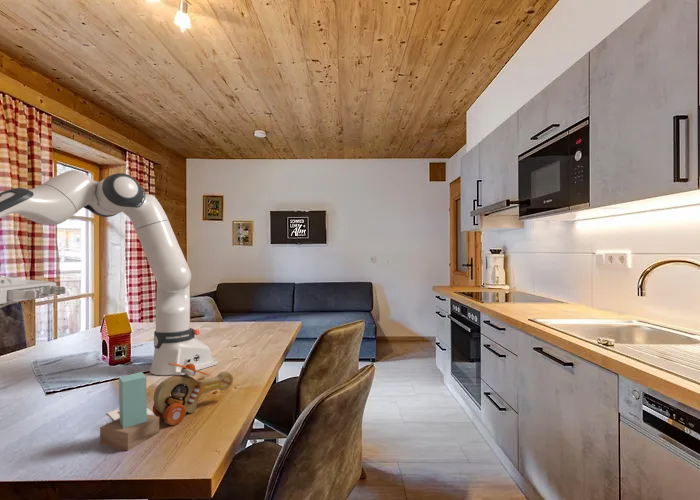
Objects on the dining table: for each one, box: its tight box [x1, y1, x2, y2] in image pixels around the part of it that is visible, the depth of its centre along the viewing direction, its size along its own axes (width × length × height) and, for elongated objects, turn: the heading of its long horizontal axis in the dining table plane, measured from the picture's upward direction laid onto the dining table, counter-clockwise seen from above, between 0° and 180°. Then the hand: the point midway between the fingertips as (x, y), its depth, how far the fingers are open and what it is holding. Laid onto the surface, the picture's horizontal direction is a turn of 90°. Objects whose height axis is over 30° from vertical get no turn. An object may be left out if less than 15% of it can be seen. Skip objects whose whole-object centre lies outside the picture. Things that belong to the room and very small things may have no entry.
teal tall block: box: [118, 371, 148, 429], centre depth 79 cm, size 4×4×10 cm
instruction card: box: [106, 407, 156, 421], centre depth 91 cm, size 8×11×1 cm
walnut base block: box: [99, 415, 160, 451], centre depth 79 cm, size 8×8×4 cm
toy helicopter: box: [152, 363, 234, 426], centre depth 94 cm, size 8×21×14 cm, turn 140°
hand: (51, 292), depth 85 cm, fingers open, 8 cm apart
